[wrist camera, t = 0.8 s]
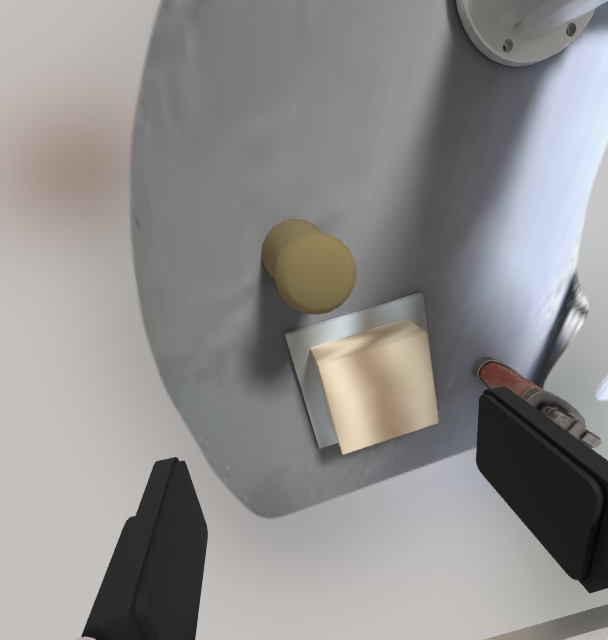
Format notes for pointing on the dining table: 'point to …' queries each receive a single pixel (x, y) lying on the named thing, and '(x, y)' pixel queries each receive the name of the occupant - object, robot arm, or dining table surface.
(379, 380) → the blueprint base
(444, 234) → the dining table surface
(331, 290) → the olive brown knobbed peg
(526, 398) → the lighter
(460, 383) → the dining table surface
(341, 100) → the dining table surface
